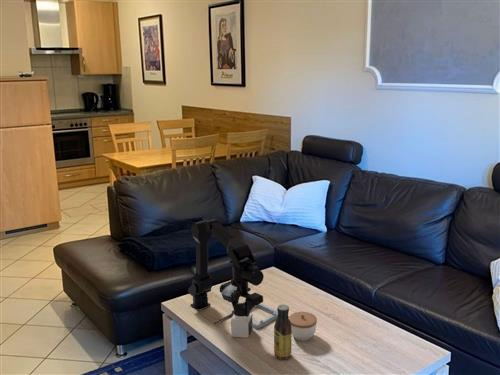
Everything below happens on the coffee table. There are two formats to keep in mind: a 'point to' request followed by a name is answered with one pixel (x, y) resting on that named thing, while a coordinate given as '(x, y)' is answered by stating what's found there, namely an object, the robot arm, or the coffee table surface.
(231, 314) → the rail
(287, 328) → the sauce bottle
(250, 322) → the medicine bottle
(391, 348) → the coffee table surface
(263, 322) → the grey angle bracket
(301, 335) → the lidded jar
